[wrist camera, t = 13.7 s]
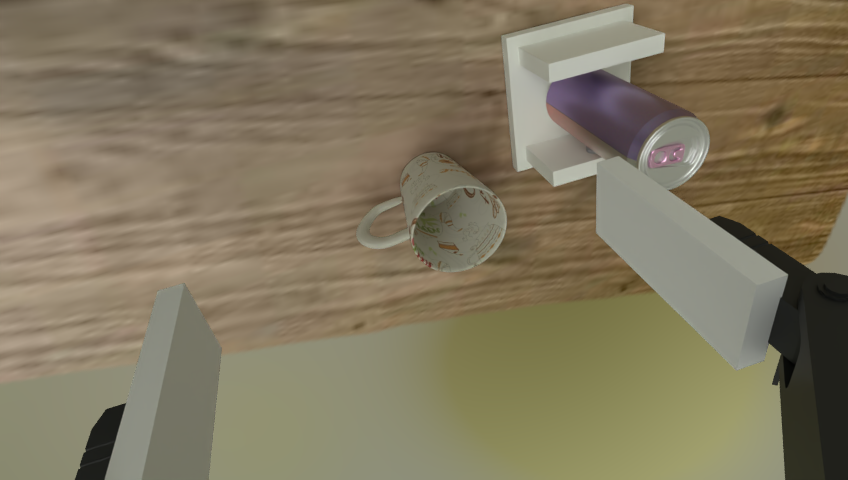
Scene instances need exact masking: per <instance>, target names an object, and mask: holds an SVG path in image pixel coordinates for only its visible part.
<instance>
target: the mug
mask: <svg viewBox="0 0 848 480" xmlns="http://www.w3.org/2000/svg"><path fill="white" fill-rule="evenodd" d="M400 189H401V194H402V197H397V198H394V199H391V200H388V201H386V202H383V203H381V204H378V205H377V206H375V207H373V208H372V209H371V210H370V211H369V212H368V213H367V214H366V215H365V216H364V218H363V219H362V221H361V222H360V224H359V226H358V228H357V232H356V235H357V239H358V241H359V242H360V243H361V244H362V245H364V246H366V247H369V248H373V249H384V248H388V247H391V246H394V245H396V244H399V243H401V242H404V241H406V240H408V239H410V241H411V244H412V247H413V250H414V252H415V254H416V255H417V257H418V258H419V259H420V260H421V261H422V262H423V263H424V264H425V265H427V266H428V267H430V268H432V269H435V270H438V271H442V272H459V271H464V270H467V269H470V268H473V267H475V266H477V265H479V264H480V263H482V262H484V261H485V260H486V259H487V258H489V257H490V256H491V255H492V254H493V253H494V252H495V251H496V249H497V248H498V247H499V245H500V243H501V242H502V240H503V237H504V235H505V232H506V227H507V216H506V211H505V208H504V206H503V204H502V202H501V200H500V199H499V198H498V197H497V195H496V194H495V193H494V192H492V191H491V190H490V189H489V188H488V187H486V186H485V185H484V184H483V183H481V182H480V181H479V180H478V179H476V178H475V177H474V176H473V175H471V174H470V173H469V172H468V171H466V170H465V169H464V168H463V167H461V166H460V165H459V164H457V163H456V162H455V161H454V160H452V159H451V158H450V157H448V156H446V155H444V154H441V153H436V152H430V153H425V154H422V155H419V156H417V157H416V158H414V159H413V160H411V161H410V162H409V163H408V165H407V166H406V167H405V169H404V170H403V173H402V175H401V180H400ZM402 202H403V205H404V210H405V215H406V220H407V226H408V228H406V229H404V230H402V231H399V232H397V233H395V234H393V235H390V236H387V237H376V236H373V235H371V234H370V232H369V230H370V227H371V224H372V223H373V221H374V220H375V218H376V217H377V216H378V215H379V214H380V213H382V212H384V211H386V210H388V209H390V208H392V207H395V206H397V205H399V204H401V203H402Z"/></svg>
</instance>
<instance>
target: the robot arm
mask: <svg viewBox="0 0 848 480" xmlns="http://www.w3.org/2000/svg"><path fill="white" fill-rule="evenodd" d="M596 233H597V234H598V235H599V236H600V237H601V238H602V239H603V240H604V241H605V242H606V243H607V244H608V245H609V246H610V247H611V248H612V249H613V250H614V251H615V252H616V253H617V254H618V255H619V256H620V257H621V258H622V259H623V260H624V261H625V262H626V263H627V264H628V265H629V266H630V267H631V268H632V269H633V270H634V271H635V272H637V273H638V274H639V275H640V276H641V277H642V278H643V279H644V280H645V281H646V282H647V283H648V284H649V285H650V286H651V287H652V288H653V289H654V290H655V291H656V292H657V293H658V294H659V295H660V296H661V297H662V298H663V299H664V300H665V301H666V302H667V303H668V304H669V305H670V306H671V307H672V308H673V309H674V310H675V311H676V312H677V313H678V314H679V315H680V316H681V317H682V318H683V319H684V320H685V321H686V322H687V323H689V324H690V326H692V327H693V328H694V329H695V330H696V331H697V332H698V333H699V334H700V335H701V336H702V337H703V338H704V339H705V340H706V341H707V342H708V343H709V344H710V345H711V346H712V347H713V348H714V349H715V350H716V351H717V352H718V353H719V354H720V355H721V356H722V357H723V358H724V359H725V360H726V361H727V362H728V363H729V364H730V365H731V366H732V367H733V368H734V369H735V370H739V369H742V368H745V367H748V366H751V365H753V364H756V363H759V362H762V361H764V359H765V355H766V352H767V348H768V345H769V344H771V345H772V346H773V347H774V348H775V349H776V350H778V351H779V352H780V353H781V356H780V359H779V363H778V366H777V369H776V373H775V376H774V379H773V383H772V384H773V385H778V382H779V381H780V398H781V416H782V432H783V449H784V466H785V480H848V276H846V275H841V274H837V273H818V274H816V273H814V272H813V271H811V270H810V269H808V268H807V267H805V266H804V265H802V264H801V263H799V262H798V261H796V260H795V259H793V258H792V257H790V256H789V255H787V254H786V253H784V252H783V251H781V250H780V249H778V248H777V247H775V246H774V245H772V244H768V241H766V240H765V239H763V238H762V237H760V236H759V235H758V236H756V234H755V233H754V232H753V231H751V230H750V229H748V228H747V227H745V226H744V225H742V224H741V223H738V222H735V221H733V220H730V219H727V218H724V217H721V216H718V217H715V218H711V219H708V218H707V217H705V216H704V215H702V214H701V213H699V212H698V211H697V210H695V209H694V208H692V207H691V206H689V205H688V204H687V203H685V202H684V201H682V200H681V199H679V198H678V197H677V196H675V195H674V194H672V193H671V192H669V191H668V190H667V189H665V188H664V187H662V186H661V185H659V184H658V183H657V182H655V181H654V180H652V179H651V178H649V177H648V176H647V175H645V174H644V173H642V172H641V171H639V170H638V169H637V168H635V167H634V166H632V165H631V164H630V163H628V162H627V161H625V160H624V159H622V158H621V157H620V156H617V157H614V158H610V159H607V160H603V161H600V162H597V196H596ZM221 351H222V348H221V346H220V344H219V342H218V341H217V339H216V337H215V335H214V334H213V332H212V330H211V328H210V327H209V325H208V323H207V321H206V320H205V318H204V316H203V315H202V313H201V311H200V309H199V308H198V306H197V304H196V302H195V301H194V299H193V297H192V295H191V294H190V292H189V290H188V288H187V287H186V285H185V283H183V284H179V285H176V286H172V287H169V288H166V289H162V290H159V291H158V292H157V296H156V299H155V303H154V306H153V310H152V314H151V317H150V321H149V324H148V328H147V331H146V335H145V338H144V342H143V345H142V349H141V352H140V356H139V360H138V363H137V367H136V370H135V374H134V377H133V381H132V384H131V388H130V392H129V395H128V398H127V402H126V403H125V404H122V405H118V406H115V407H112V408H109V409H106V410H105V412H104V413H103V415H102V416H101V417H100V419H99V420H98V421H97V423H96V424H95V426H94V427H93V428H92V430H91V433H90V436H89V439H88V442H87V445H86V448H85V449H86V452H85V453H84V454H83V457H82V460H81V463H80V467H81V468H80V469H78V472H77V475H76V478H75V480H209V470H210V459H211V450H212V440H213V430H214V420H215V410H216V400H217V390H218V380H219V371H220V361H221V360H220V359H221Z"/></svg>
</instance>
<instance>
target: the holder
mask: <svg viewBox="0 0 848 480" xmlns="http://www.w3.org/2000/svg"><path fill="white" fill-rule="evenodd" d="M633 11H634V5H630V4H622V5H618V6H614V7H610V8H607V9H603V10H599V11H595V12H591V13H587V14H583V15H579V16H575V17H572V18H568V19H564V20H560V21H556V22H552V23H548V24H544V25H541V26H537V27H533V28H529V29H525V30H521V31H517V32H513V33H509V34H506V35H502V36H501V39H502V50H503V61H504V72H505V83H506V95H507V106H508V117H509V128H510V139H511V150H512V161H513V168H514V169H515V170H516V171H517V172H519V171H523V170H526V169H530V168H533V167H534V168H535V169H536V170H537V171H538V172H539V173H540V174H541V175H542V176H543V177H544V178H545V179H546V180H547V181H548V182H549V183H550V184H551V185H552V186H553V187H555V186H558V185H561V184H565V183H568V182H572V181H575V180H578V179H582V178H585V177H589V176H592V175H595V174H597V162H600V161H603V160H605V159H603V158H602V157H601V156H599V155H598V154H597V153H595V152H594V151H593V150H591V149H590V148H589V147H587V146H586V145H585V144H583V143H582V142H580V141H579V140H578V139H576V138H575V137H574V136H572V135H571V134H570V133H568V132H567V131H566V130H564V129H563V128H562V127H560V126H559V125H558V124H556V123H555V122H554V121H553V120H552V119H551V118H550V116H549V114H548V112H547V107H546V97H547V92H548V89H549V87H550V85H551V83H552V82H555V81H559V80H563V79H566V78H570V77H574V76H577V75H581V74H585V73H589V72H592V71H596V70H600V69H602V70H604V71H606V72H608V73H610V74H612V75H614V76H616V77H619V78H621V79H623V80H625V81H627V82H629V83H630V73H631V61H633V60H637V59H640V58H644V57H648V56H651V55H655V54H659V53H662V52H664V41H665V33H663V32H660V31H657V30H653V29H650V28H647V27H644V26H640V25H637V24H634V23H633Z"/></svg>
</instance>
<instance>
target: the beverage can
mask: <svg viewBox="0 0 848 480" xmlns="http://www.w3.org/2000/svg"><path fill="white" fill-rule="evenodd" d="M546 107H547V112H548V114H549V116H550V118H551V119H552V120H553V121H554V122H555V123H556V124H558V125H559V126H560V127H562V128H563V129H564V130H566V131H567V132H568V133H570V134H571V135H572V136H574V137H575V138H576V139H578V140H579V141H580V142H582V143H583V144H585V145H586V146H587V147H589V148H590V149H591V150H593V151H594V152H595V153H597V154H598V155H599V156H601V157H602V158H603V159H605V160H607V159H610V158H614V157H617V156H620V157H621V158H622V159H624V160H625V161H627V162H628V163H630V164H631V165H632V166H634V167H635V168H637V169H638V170H639V171H641V172H642V173H644V174H645V175H647V176H648V177H649V178H651V179H652V180H654V181H655V182H657V183H658V184H659V185H661V186H662V187H664V188H665V189H667V190H670V189H673V188H676V187H678V186H680V185H682V184H683V183H685V182H686V181H687V180H689V179H690V178H691V177H692V176H693V175H694V174H695V173H696V172H697V171H698V169H699V168H700V167H701V165H702V164H703V162H704V160H705V158H706V156H707V153H708V150H709V145H710V136H709V132H708V129H707V127H706V125H705V124H704V123H703V122H702V121H701V120H699V119H698V118H697V117H696V116H695V115H694V114H693V113H691V112H689V111H687V110H685V109H683V108H681V107H679V106H677V105H675V104H673V103H671V102H669V101H666V100H664V99H662V98H660V97H658V96H656V95H654V94H652V93H650V92H648V91H646V90H644V89H641V88H639V87H637V86H635V85H633V84H631V83H629V82H627V81H625V80H623V79H621V78H619V77H616V76H614V75H612V74H610V73H608V72H606V71H604V70H602V69H600V70H596V71H592V72H589V73H585V74H581V75H577V76H574V77H570V78H566V79H563V80H559V81H555V82H552V83H551V85H550V87H549V89H548V92H547V97H546Z"/></svg>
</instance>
